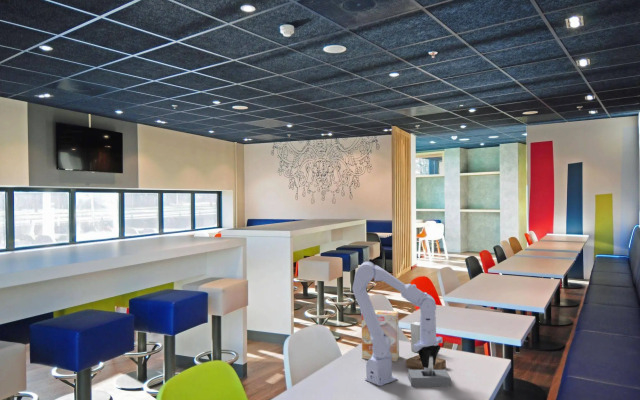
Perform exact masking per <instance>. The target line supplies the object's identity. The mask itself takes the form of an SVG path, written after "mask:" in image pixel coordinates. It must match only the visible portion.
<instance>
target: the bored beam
mask: <svg viewBox="0 0 640 400" xmlns="http://www.w3.org/2000/svg"><path fill="white" fill-rule="evenodd" d="M407 371H408V375H407V376H408V380H409V383H410V386H411V387H451V386H452V383H451V382H452V378H451V376H450V374H449V373H448V371H447V369H441V370H433V376H424V370H414V369H407Z"/></svg>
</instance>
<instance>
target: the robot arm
mask: <svg viewBox="0 0 640 400" xmlns="http://www.w3.org/2000/svg"><path fill="white" fill-rule="evenodd" d="M373 279H374V280H373ZM372 280H373V282H377V281H378V282H384V283H385V284H387V285H388V286H390V287H392V288H394V289H395V290H397V291H399V292H400V295H401V298H403V299H404V300H406V301H407V302H410V303H411V305H414V306H415V307H419V310H420V316H419V322H420V341H418V342H417V343H416V344H414V345H413V350H416V351H417V352H418V353H417V352H416V353H417V354H418V355H419V356H420V359H421V362H422V366H423V367H425V368H428V366H429V357H430V355H432V356H433V366H434V365H435V361H436V357H438V354H439V352H440V350H441V345H440V344H442V343H443V337H442V336H437V320H436V318H437V316H436V311H437V305H436V301H435V299H434V298H433V296H432V295H431V294H428V293H427V291H426V292H425V291H424V292H423V291H422V290H420V289H419V288H417V285H416V284H414V283H413V284H411V283H407V284H406V283H404V282H403V281H401V280H400V279H399V278H397V277H395V276H394V275H392V274H391V273H390V272H388V271H387V270H385V269H384V268H382V267H381V266H379V265H377V264H374V263H373V262H372V261H369V260H368V261H367V260H366V261H363V262H362V263H361V264H360V266H359V267H358V269H357V270H356V272H355V274H354V280H353V284H352V287H351V289H352V292H353V294H354V297H355V299H356V302H357V304H358V307H359V309H360V312H361V316H362V315H363V318H364V320H365V322H366V325H367V327H368V330H369V332H370V336H371V341H372V344H373V354H372V357H371V359H367V360H366V362H365V363H366V365H365V366H366V367H365V368H366V370H365V371H366V378H364V380H365V381H367V382H369V383H372V384H374V385H377V386H384V385H387V384H389V383H392V382H393V381H397V380H398V378H397V377H396V376H393V361H392V354H391V353H390V345H391V341H390V339H389V337H388V336H386V334H385V333H384V330H383V329H382V328H381V325H380V323H379V320H378V318H377V315H376V313H375V310H376V309H375V308H374V306H373V304H372V301H371V299H370V295H369V294H368V291H367V287H368V284H369V283H370V282H371V281H372Z"/></svg>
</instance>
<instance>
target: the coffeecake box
mask: <svg viewBox="0 0 640 400" xmlns="http://www.w3.org/2000/svg"><path fill="white" fill-rule="evenodd" d="M374 310H375V313H376V315H377V318H378V320H379V323H380V325H381V328H382V329H383V330H384V333H385V334H386V336H388V337H389V339H390V341H391V345H390V353H391V354H392V362H398V359H399V357H400V332H399V331H400V330H399V329H400V326H399V325H400V324H399V323H400V322H399V321H400V320H399V317H400V316H399V310H397V311H395V310H379V309H374ZM372 354H373V344H372V341H371V336H370V332H369V330H368V327H367V325H366V322H365V320H364V318H363V315H362V314H361V357H362V358H361V359H363V360H369V359H371V357H372Z"/></svg>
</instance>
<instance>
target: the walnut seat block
mask: <svg viewBox="0 0 640 400" xmlns="http://www.w3.org/2000/svg"><path fill="white" fill-rule="evenodd" d="M405 362H406V363H405V365H406V366H405V367H406V368H408V369H410V370H424V367H423V366H422V362H421V359H420V356H419V354H418V355H415V356H412V357H409V358H406V359H405ZM446 368H447V360H446V359H443V358H441V357H438V356H437V357H436V361H435V365H434V366H433V370H444V369H446Z"/></svg>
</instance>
